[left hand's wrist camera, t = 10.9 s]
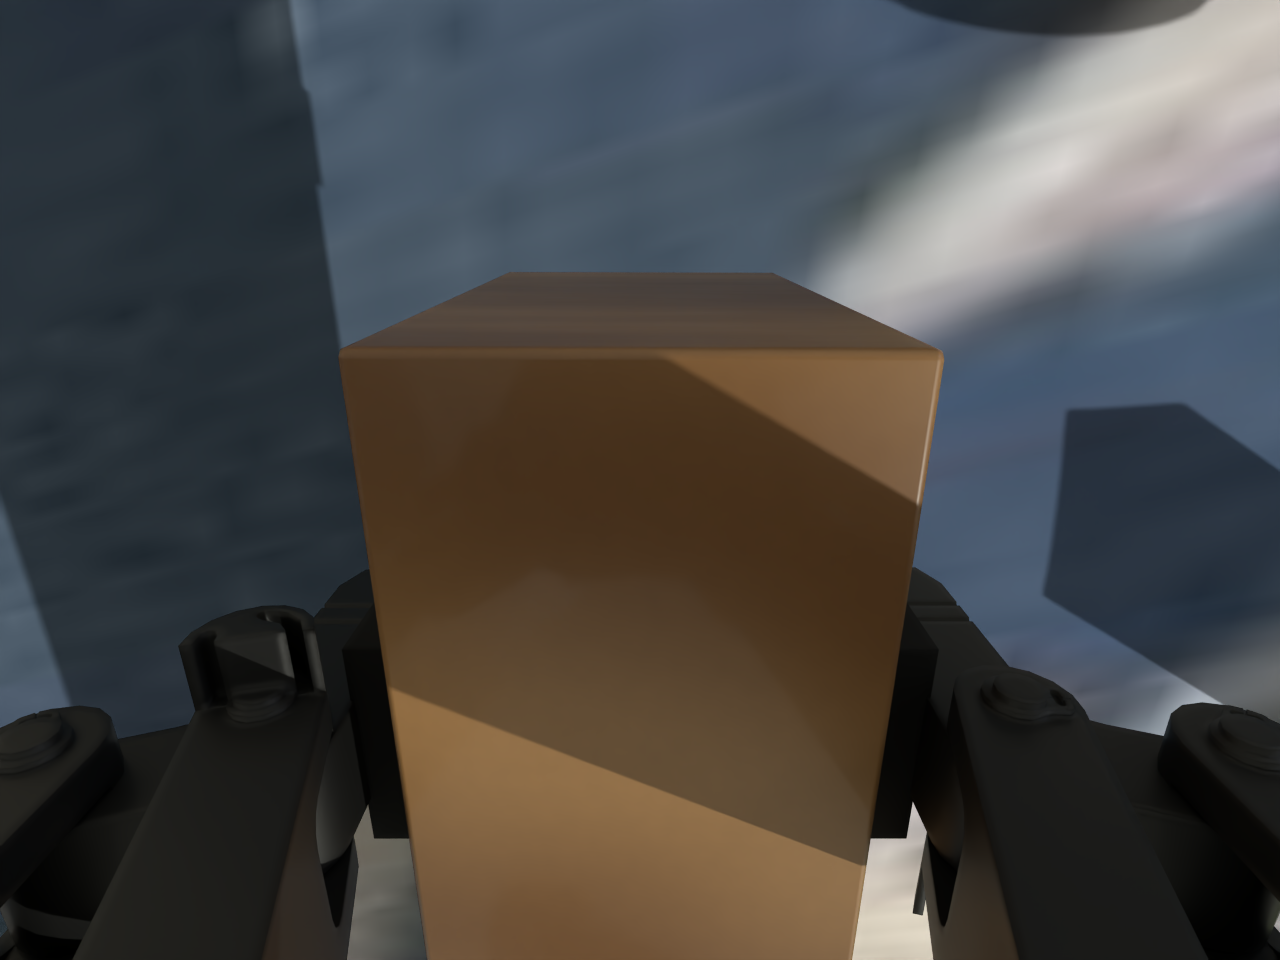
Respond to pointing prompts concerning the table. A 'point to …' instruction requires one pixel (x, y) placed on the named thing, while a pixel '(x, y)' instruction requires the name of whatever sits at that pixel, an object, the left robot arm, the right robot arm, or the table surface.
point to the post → (640, 606)
